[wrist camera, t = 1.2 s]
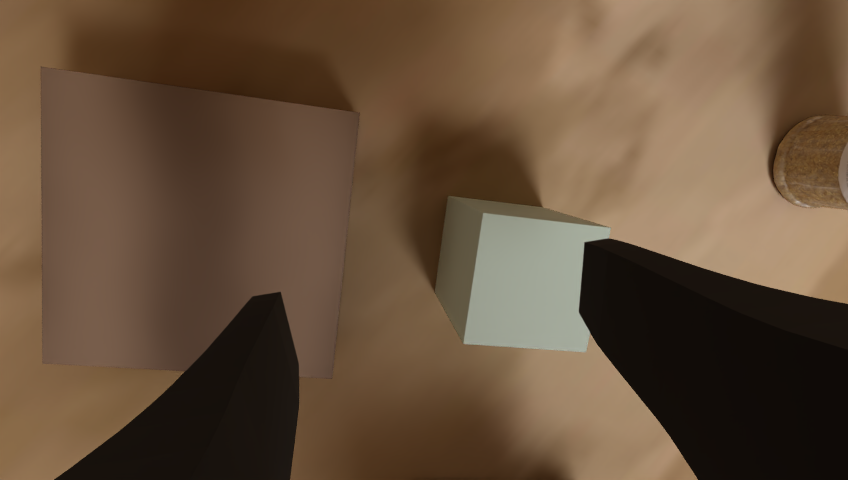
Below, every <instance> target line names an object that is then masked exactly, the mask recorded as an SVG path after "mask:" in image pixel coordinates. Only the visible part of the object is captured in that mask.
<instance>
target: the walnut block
mask: <svg viewBox="0 0 848 480" xmlns="http://www.w3.org/2000/svg"><path fill="white" fill-rule="evenodd" d="M359 116H360V113H358V112H351V111H344V110H337V109H330V108H323V107H316V106H309V105H302V104H296V103H289V102H282V101H275V100H268V99H261V98H254V97H247V96H240V95H233V94H227V93H220V92H213V91H206V90H199V89H192V88H185V87H178V86H171V85H165V84H158V83H151V82H144V81H137V80H130V79H123V78H116V77H109V76H102V75H96V74H89V73H82V72H75V71H68V70H61V69H54V68H47V67H41V190H42V355H43V364H61V365H80V366H99V367H118V368H137V369H155V370H174V371H186V370H187V369H188V368H189V367H190V366H191V365H192V364H193V363H194V362H195V361H196V360H197V359H198V358H199V357H200V356H201V355H202V354H203V353H204V352H205V351H206V349H207V348H208V347H209V346H210V345H211V344H212V343H213V342H214V340H215V339H216V338H217V337H218V336H219V335H220V334H221V332H222V331H223V330H224V329H225V328H226V327H227V326H228V324H229V323H230V322H231V321H232V320H233V318H234V317H235V316H236V315H237V314H238V312H239V311H240V310H241V309H242V308H243V307H244V305H245V304H246V303H247V302H248V301H249V300H250V299H251V297H252V296H257V295H263V294H270V293H276V292H281V295H282V299H283V303H284V307H285V311H286V315H287V319H288V322H289V326H290V330H291V334H292V338H293V342H294V346H295V350H296V354H297V358H298V362H299V377H307V378H326V379H332V376H333V366H334V357H335V347H336V337H337V328H338V318H339V308H340V299H341V289H342V279H343V270H344V260H345V250H346V241H347V231H348V222H349V212H350V202H351V193H352V183H353V173H354V164H355V154H356V144H357V135H358V125H359Z"/></svg>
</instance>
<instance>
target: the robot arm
mask: <svg viewBox="0 0 848 480" xmlns="http://www.w3.org/2000/svg"><path fill="white" fill-rule="evenodd" d="M579 314H580V316H581V317H582V319H583V321H584V323H585V325H586V326H587V328H588V330H589V332H590V333H591V335H592V336H593V338H594V340H595V341H596V343H597V345H598V346H599V347H600V349H601V350H602V351H603V352H604V354H605V355H606V356H607V358H608V359H609V360H610V361H611V363H612V364H613V365H614V366H615V368H616V369H617V370H618V371H619V373H620V374H621V375H622V376H623V378H624V379H625V380H626V381H627V382H628V384H629V385H630V386H631V387H632V389H633V390H634V391H635V392H636V394H637V395H638V396H639V397H640V398H641V400H642V401H643V402H644V403H645V405H646V406H647V407H648V408H649V410H650V411H651V412H652V413H653V415H654V416H655V417H656V418H657V420H658V421H659V422H660V424H661V425H662V426H663V428H664V429H665V430H666V432H667V433H668V434H669V436H670V437H671V439H672V440H673V442H674V443H675V445H676V446H677V448H678V449H679V451H680V452H681V454H682V455H683V457H684V459H685V460H686V462H687V463H688V465H689V466H690V468H691V469H692V471H693V472H694V474H695V475H696V477H697V479H698V480H848V304H845V303H839V302H833V301H828V300H823V299H818V298H813V297H808V296H804V295H799V294H795V293H791V292H786V291H782V290H778V289H774V288H769V287H765V286H762V285H758V284H754V283H750V282H747V281H743V280H740V279H737V278H733V277H730V276H726V275H723V274H720V273H716V272H713V271H710V270H707V269H704V268H701V267H698V266H695V265H692V264H689V263H686V262H683V261H680V260H677V259H674V258H671V257H668V256H665V255H662V254H659V253H656V252H653V251H650V250H647V249H644V248H641V247H638V246H635V245H632V244H629V243H625V242H622V241H618V240H614V239H609V238H607V239H601V240H595V241H589V242H584V254H583V266H582V278H581V290H580V302H579ZM298 410H299V362H298V358H297V354H296V350H295V346H294V342H293V338H292V334H291V330H290V326H289V322H288V319H287V315H286V311H285V307H284V303H283V299H282V295H281V292H276V293H270V294H263V295H257V296H252V297H251V299H250V300H249V301H248V302H247V303H246V304H245V305H244V307H243V308H242V309H241V310H240V311H239V312H238V314H237V315H236V316H235V317H234V318H233V320H232V321H231V322H230V323H229V324H228V326H227V327H226V328H225V329H224V330H223V331H222V332H221V334H220V335H219V336H218V337H217V338H216V339H215V340H214V342H213V343H212V344H211V345H210V346H209V347H208V348H207V349H206V351H205V352H204V353H203V354H202V355H201V356H200V357H199V358H198V359H197V360H196V361H195V362H194V363H193V364H192V365H191V366H190V367H189V368H188V369H187V370H186V371H185V372H184V373H183V374H182V375H181V376H180V377H179V378H178V379H177V380H176V381H175V383H174V384H173V385H171V386H170V387H169V388H168V389H167V390H166V391H165V392H164V393H163V394H162V395H161V396H160V397H159V398H158V399H156V400H155V401H154V402H153V403H152V404H151V405H150V406H149V407H147V408H146V409H145V410H144V411H143V412H142V413H140V414H139V415H138V416H137V417H136V418H135V419H133V420H132V421H131V422H130V423H129V424H128V425H126V426H125V427H124V428H123V429H121V430H120V431H119V432H118V433H116V434H115V435H114V436H112V437H111V438H110V439H108V440H107V441H106V442H104V443H103V444H102V445H100V446H99V447H98V448H96V449H95V450H94V451H92V452H91V453H90V454H88V455H87V456H86V457H85V458H83V459H82V460H81V461H79V462H78V463H77V464H75V465H74V466H73V467H71V468H70V469H69V470H67V471H66V472H64V473H63V474H61V475H60V476H59V477H57V478H56V479H54V480H290V474H291V466H292V459H293V451H294V443H295V435H296V427H297V418H298Z"/></svg>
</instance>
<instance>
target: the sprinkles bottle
mask: <svg viewBox="0 0 848 480" xmlns="http://www.w3.org/2000/svg"><path fill="white" fill-rule="evenodd" d="M773 173H774V182H775V184H776V186H777V188H778V190H779V191H780V193H781V194H782V196H783V197H784V198H785V199H787V201H789V202H790V203H792V204H793V205H796V206H800V207H804V208H820V207H828V208H835V209H845V210H848V116H834V115H820V116H814V117H810V118H807V119H805V120H804V121H802V122H800V123H798V124H797V125H796V126H794V127H793V128H792V129H791V130H790V131H789V132H788V133H787V135H786V136H785V137H784V139H783V140H782V142H781V143H780V145H779V147H778V150H777V153H776V158H775V161H774V168H773Z"/></svg>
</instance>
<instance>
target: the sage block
mask: <svg viewBox="0 0 848 480" xmlns="http://www.w3.org/2000/svg"><path fill="white" fill-rule="evenodd" d="M610 229H611V228H610V227H606V226H603V225H600V224H597V223H593V222H590V221H587V220H583V219H580V218H577V217H573V216H570V215H567V214H563V213H560V212H557V211H554V210H550V209H547V208H544V207H537V206H528V205H520V204H512V203H503V202H495V201H487V200H479V199H470V198H462V197H454V196H448V199H447V207H446V214H445V221H444V228H443V235H442V243H441V250H440V257H439V264H438V272H437V279H436V286H435V294H436V296H437V298H438V299H439V301H440V303H441V305H442V307H443V308H444V310H445V312H446V314H447V316H448V317H449V319H450V321H451V323H452V324H453V326H454V328H455V330H456V332H457V333H458V335H459V337H460V339H461V341H462V342H463V344H472V345H487V346H501V347H516V348H531V349H545V350H560V351H574V352H586V350H587V345H588V340H589V335H590V332H589V330H588V328H587V326H586V325H585V323H584V321H583V319H582V317H581V316H580V314H579V302H580V290H581V278H582V266H583V254H584V242H589V241H595V240H601V239H607V238H609V234H610Z"/></svg>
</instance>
